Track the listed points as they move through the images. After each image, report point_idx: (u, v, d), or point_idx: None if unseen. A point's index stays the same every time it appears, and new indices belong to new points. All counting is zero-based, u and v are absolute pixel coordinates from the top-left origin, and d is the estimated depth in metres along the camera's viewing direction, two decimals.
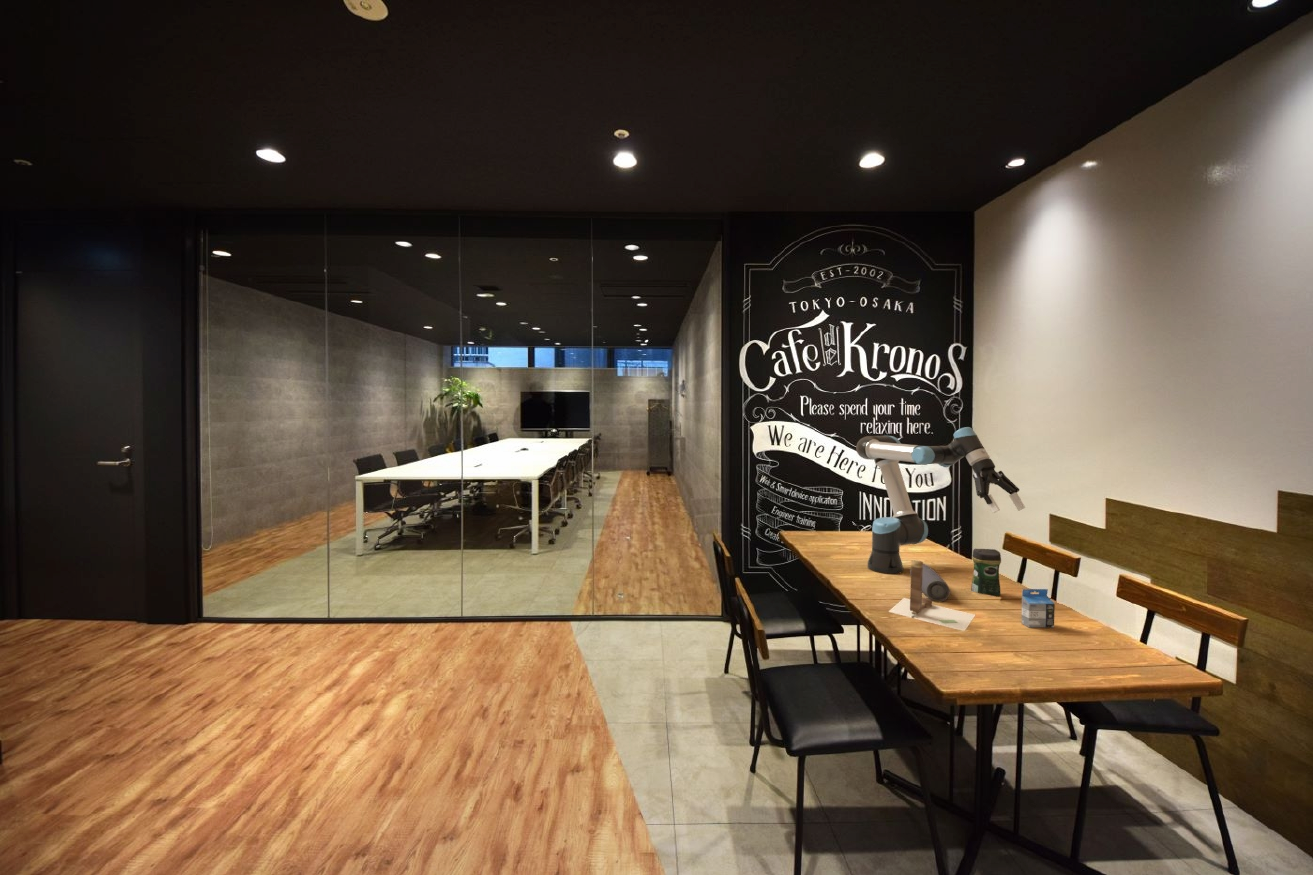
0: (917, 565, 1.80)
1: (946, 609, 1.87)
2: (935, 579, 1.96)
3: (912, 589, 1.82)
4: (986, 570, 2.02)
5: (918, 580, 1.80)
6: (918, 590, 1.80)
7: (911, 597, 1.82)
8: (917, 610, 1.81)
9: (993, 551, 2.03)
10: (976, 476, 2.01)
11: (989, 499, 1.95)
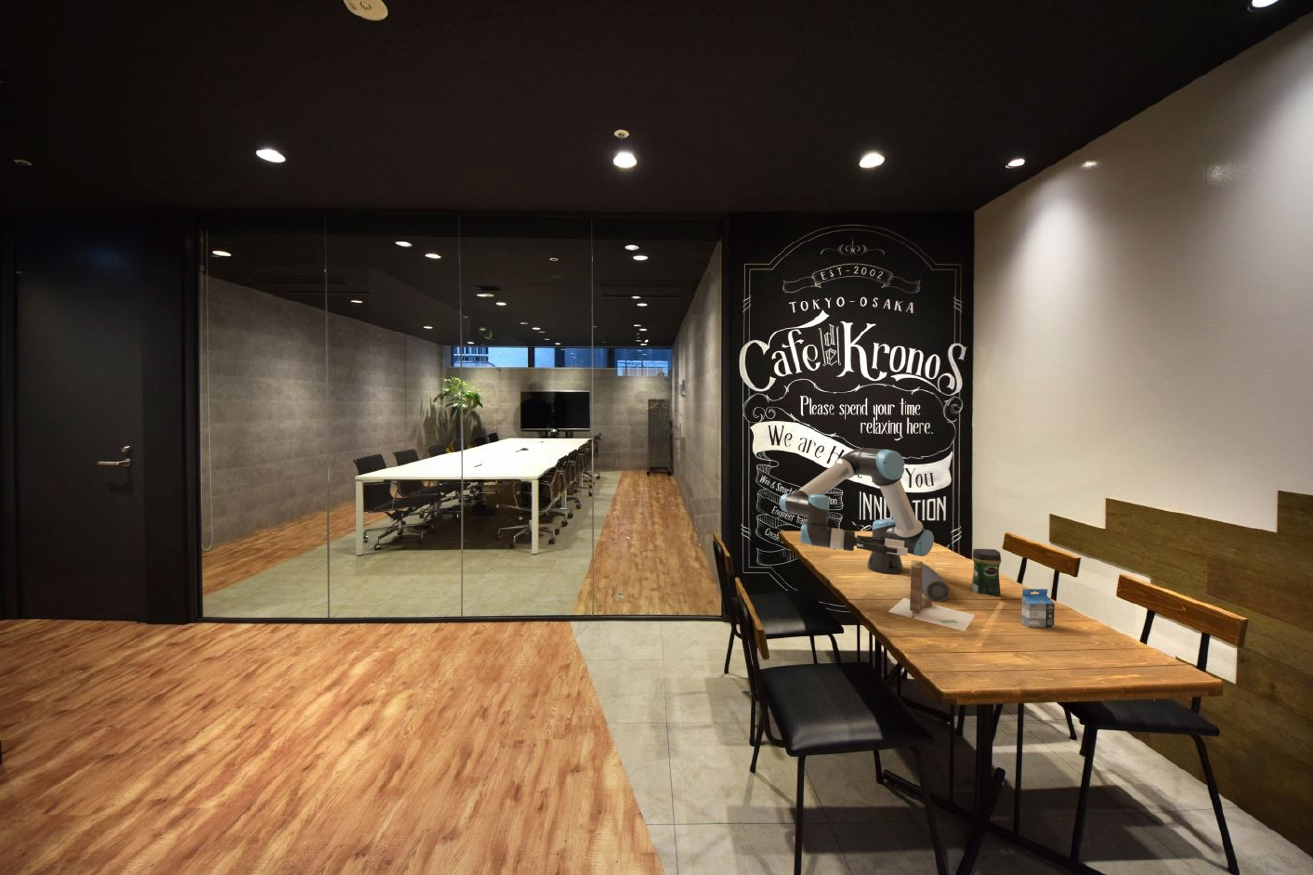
0: (917, 565, 1.80)
1: (946, 609, 1.87)
2: (935, 579, 1.96)
3: (912, 589, 1.82)
4: (986, 570, 2.02)
5: (918, 580, 1.80)
6: (918, 590, 1.80)
7: (911, 597, 1.82)
8: (917, 610, 1.81)
9: (993, 551, 2.03)
10: None
11: None
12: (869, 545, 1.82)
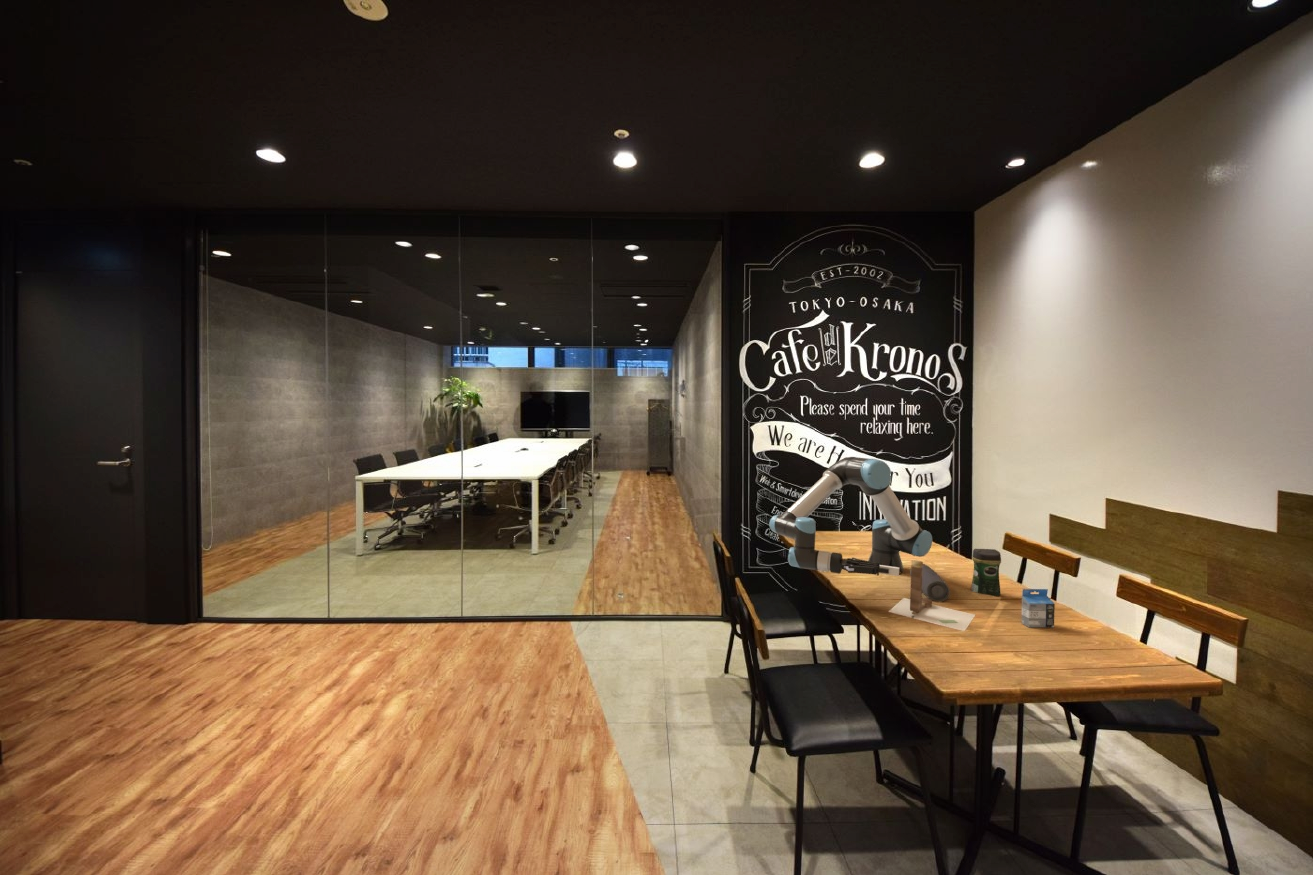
0: (917, 565, 1.80)
1: (946, 609, 1.87)
2: (935, 579, 1.96)
3: (912, 589, 1.82)
4: (986, 570, 2.02)
5: (918, 580, 1.80)
6: (918, 590, 1.80)
7: (911, 597, 1.82)
8: (917, 610, 1.81)
9: (993, 551, 2.03)
10: None
11: None
12: (861, 568, 1.85)
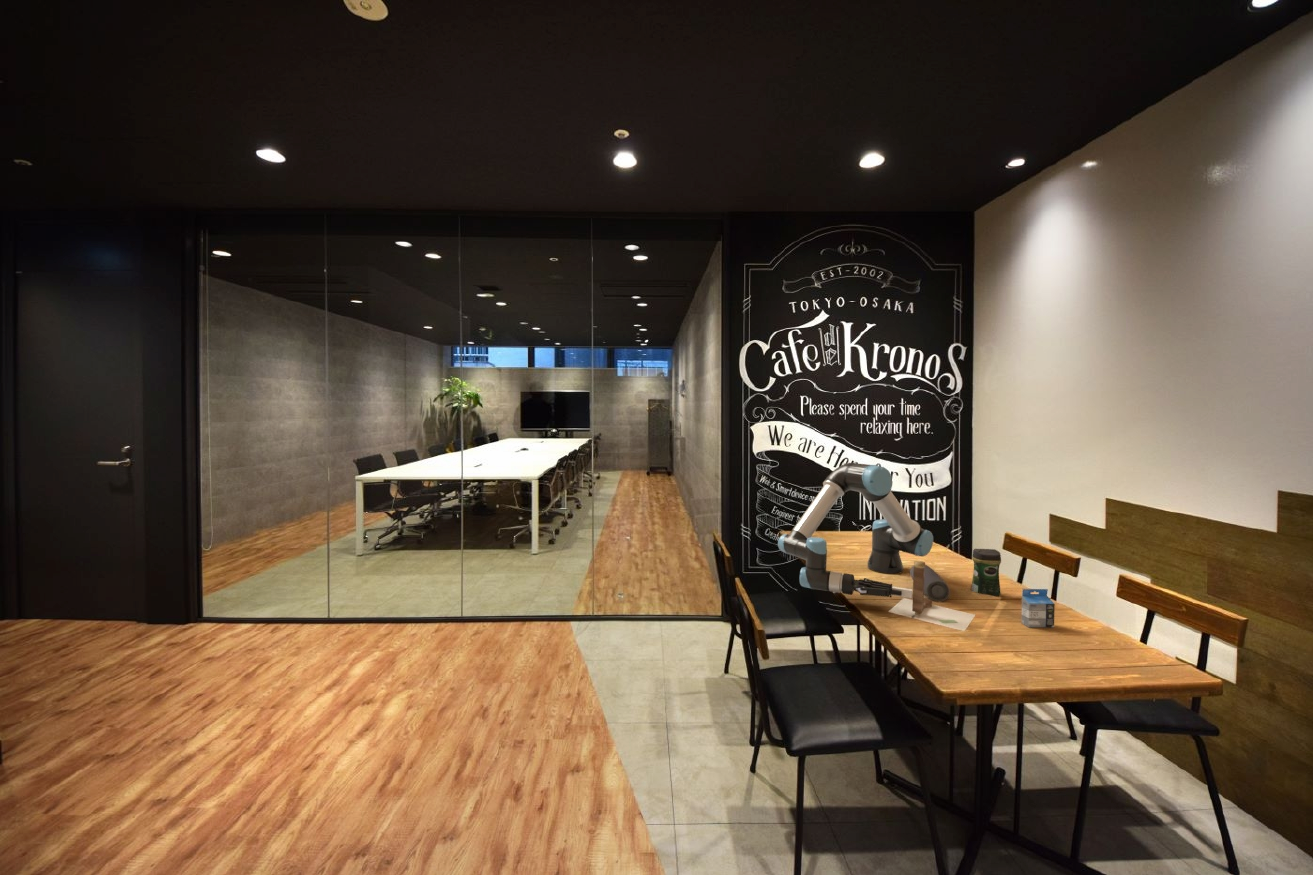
0: (920, 565, 1.80)
1: (946, 609, 1.87)
2: (935, 579, 1.96)
3: (914, 590, 1.81)
4: (986, 570, 2.02)
5: (921, 580, 1.80)
6: (921, 590, 1.80)
7: (913, 598, 1.81)
8: (920, 611, 1.80)
9: (993, 551, 2.03)
10: None
11: None
12: (873, 590, 1.84)
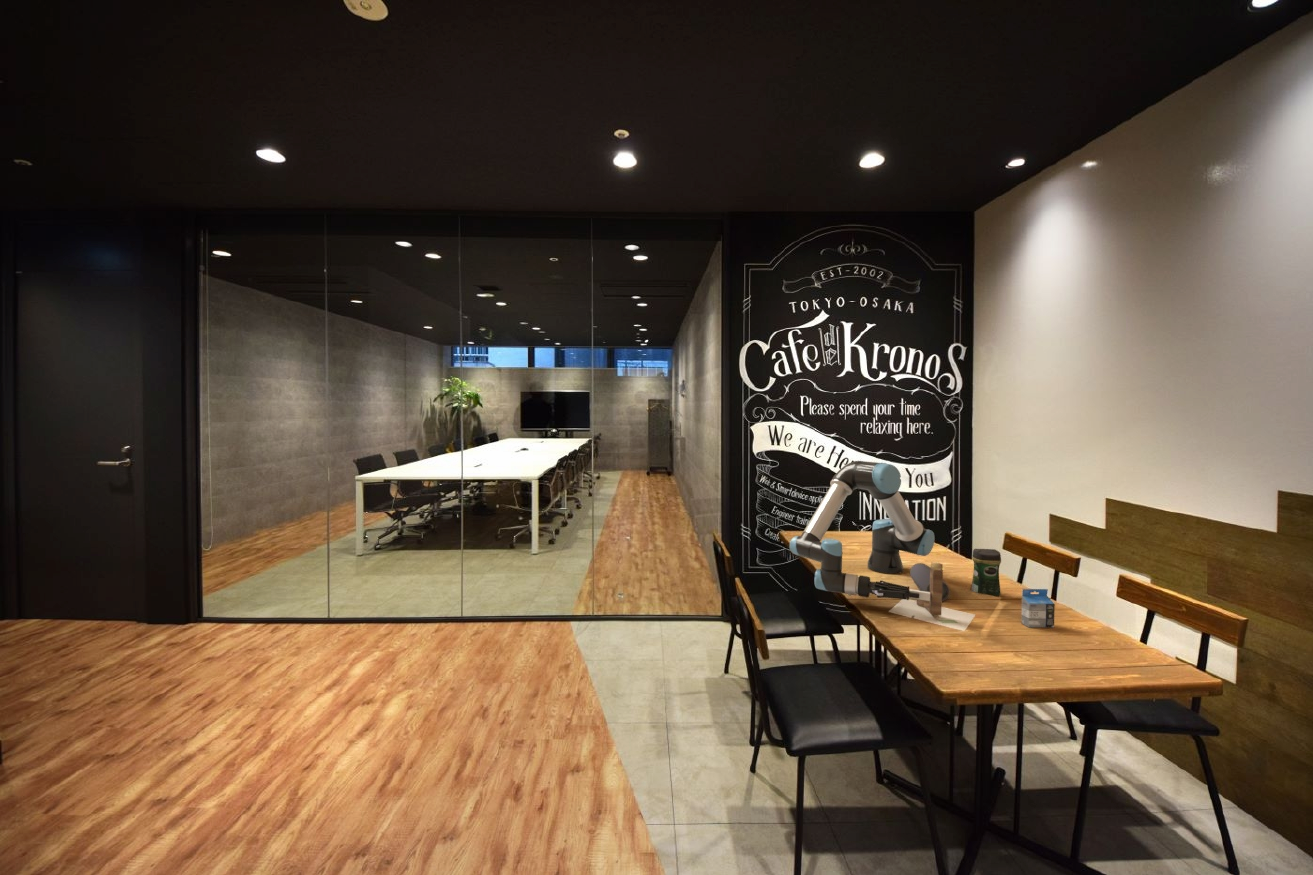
0: (940, 568, 1.77)
1: (946, 609, 1.87)
2: None
3: (934, 593, 1.78)
4: (986, 570, 2.02)
5: (940, 582, 1.78)
6: (940, 593, 1.78)
7: (933, 601, 1.78)
8: (939, 613, 1.78)
9: (993, 551, 2.03)
10: None
11: None
12: (890, 593, 1.81)
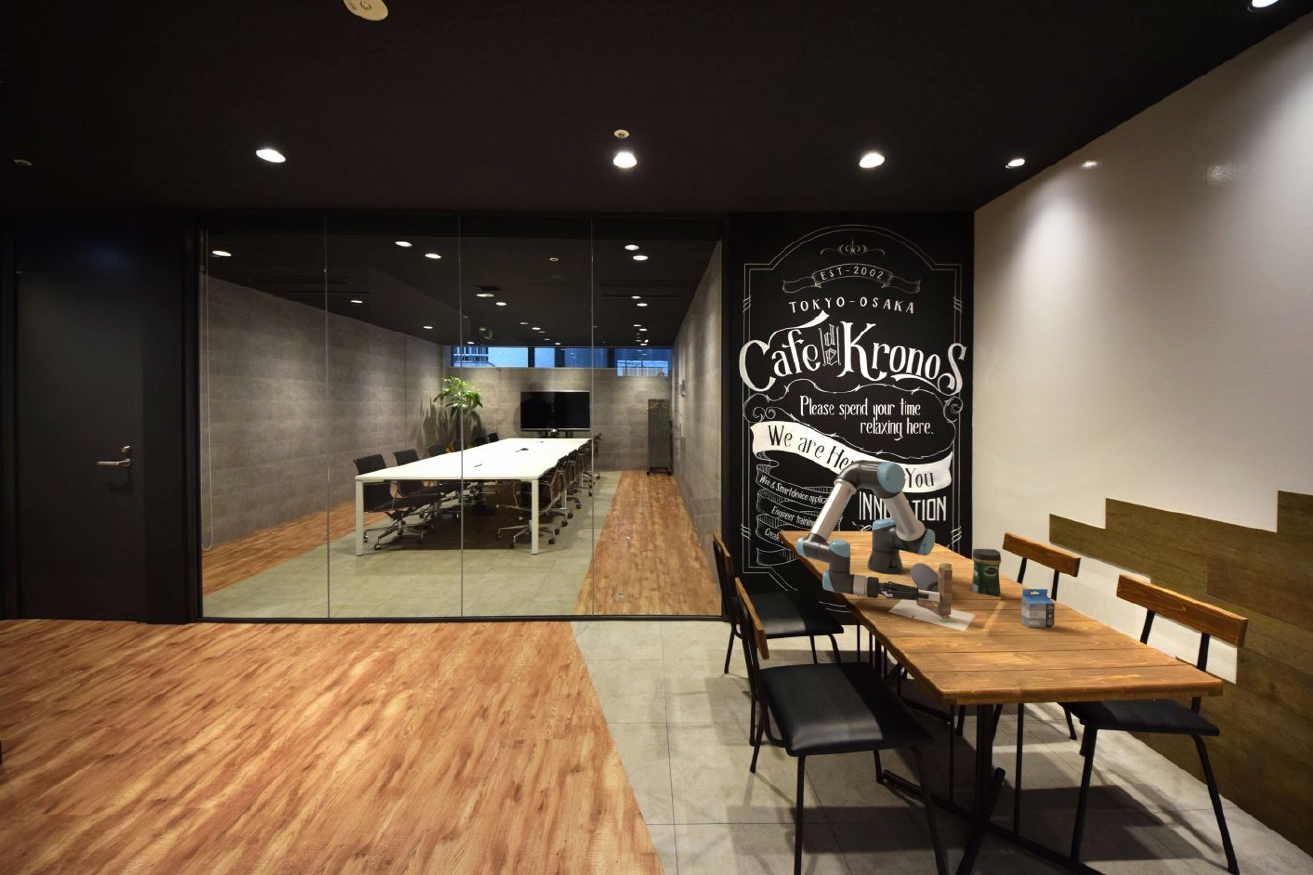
0: (950, 567, 1.77)
1: None
2: (935, 579, 1.96)
3: (945, 593, 1.78)
4: (986, 570, 2.02)
5: (950, 582, 1.78)
6: (950, 592, 1.78)
7: (944, 601, 1.78)
8: (949, 613, 1.79)
9: (993, 551, 2.03)
10: None
11: None
12: (900, 594, 1.80)
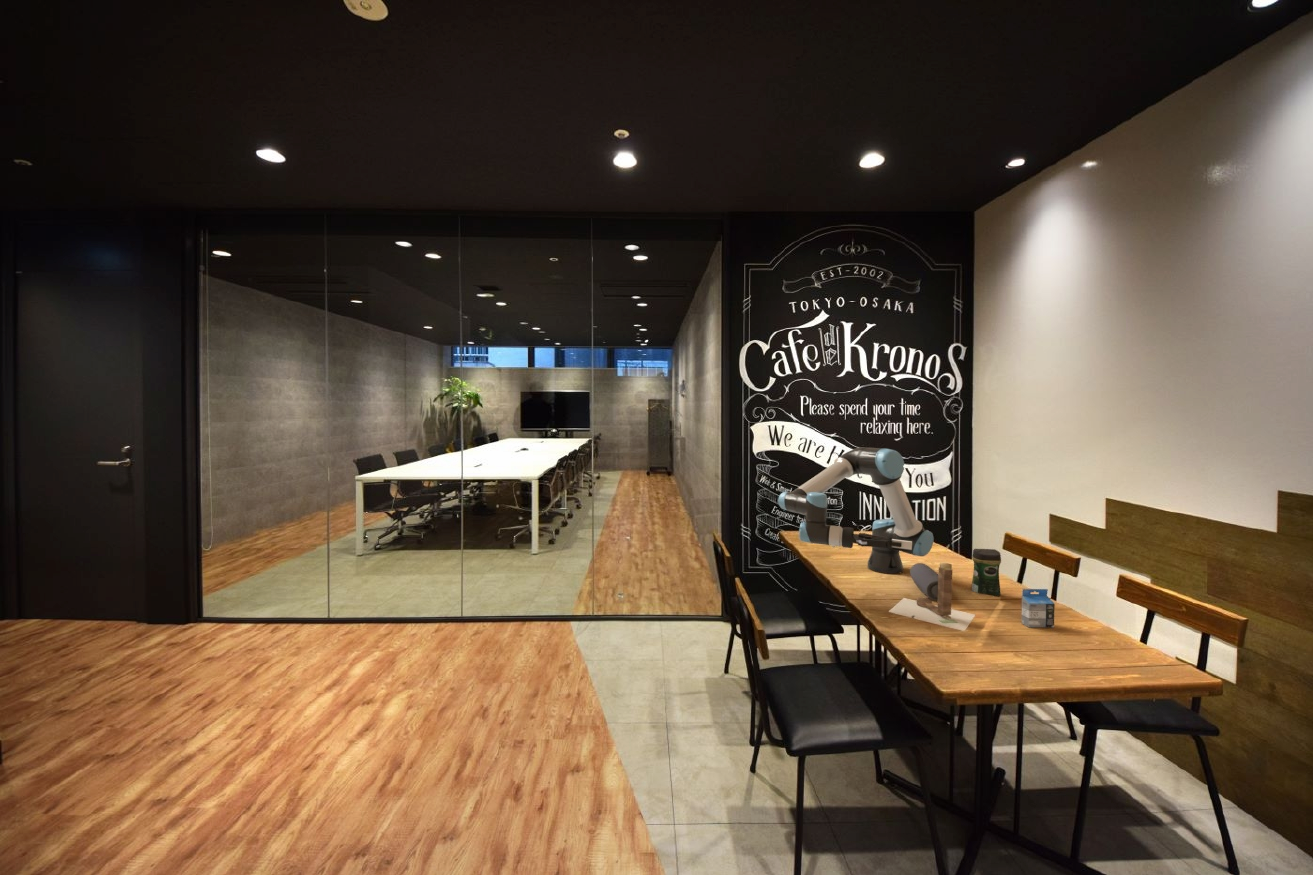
0: (950, 567, 1.77)
1: None
2: (935, 579, 1.96)
3: (945, 593, 1.78)
4: (986, 570, 2.02)
5: (950, 582, 1.78)
6: (950, 592, 1.78)
7: (944, 601, 1.78)
8: (949, 613, 1.79)
9: (993, 551, 2.03)
10: None
11: None
12: (874, 541, 1.84)
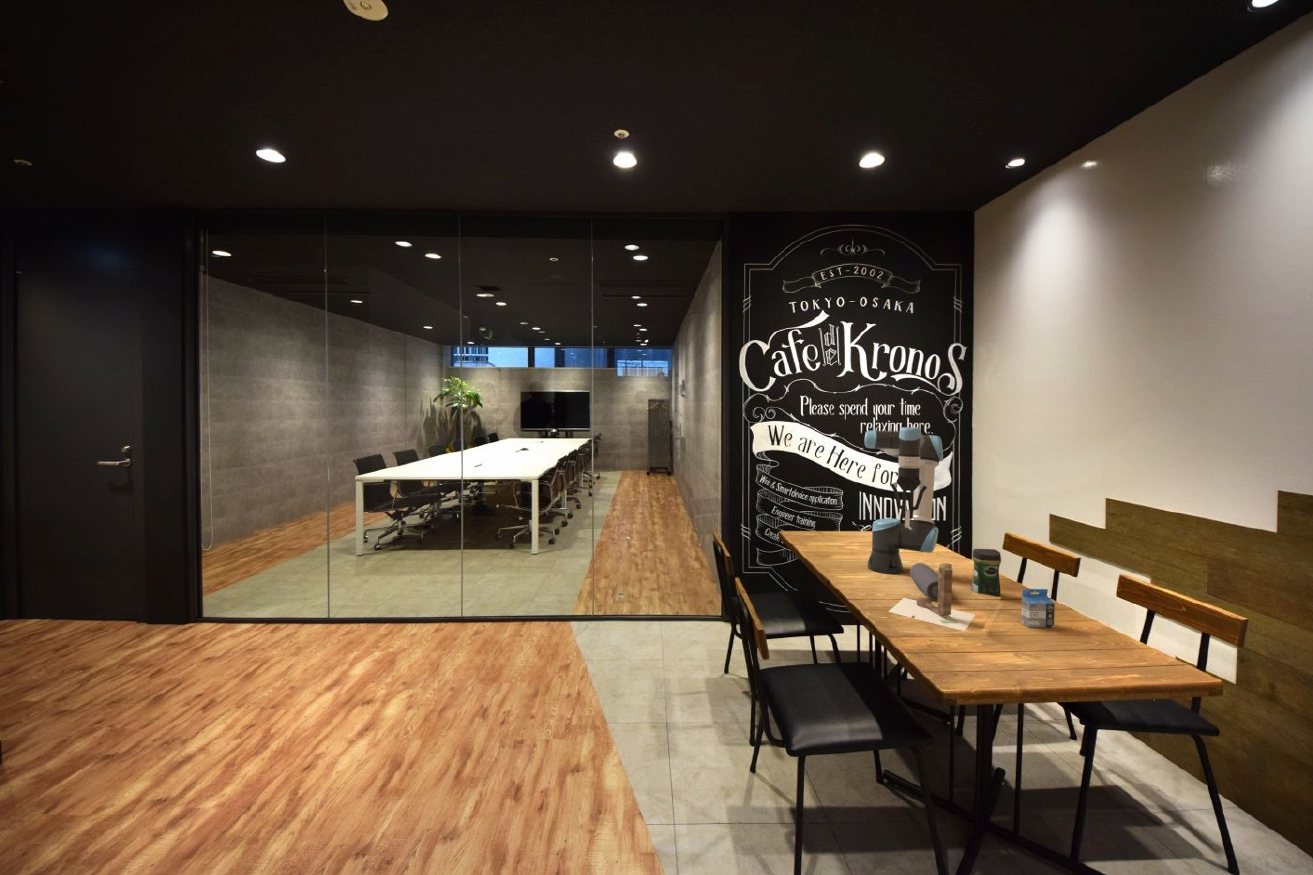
0: (950, 567, 1.77)
1: None
2: (935, 579, 1.96)
3: (945, 593, 1.78)
4: (986, 570, 2.02)
5: (950, 582, 1.78)
6: (950, 592, 1.78)
7: (944, 601, 1.78)
8: (949, 613, 1.79)
9: (993, 551, 2.03)
10: (892, 487, 2.03)
11: (903, 514, 2.01)
12: None
